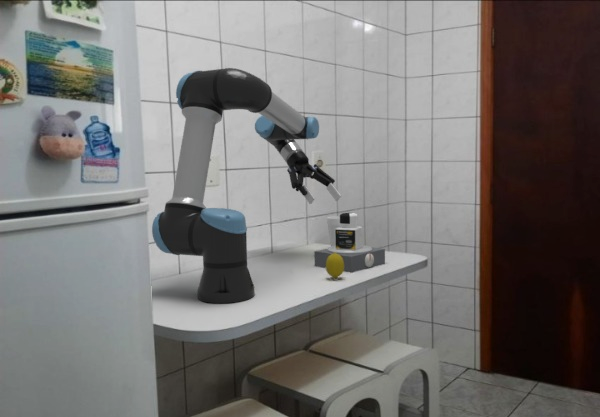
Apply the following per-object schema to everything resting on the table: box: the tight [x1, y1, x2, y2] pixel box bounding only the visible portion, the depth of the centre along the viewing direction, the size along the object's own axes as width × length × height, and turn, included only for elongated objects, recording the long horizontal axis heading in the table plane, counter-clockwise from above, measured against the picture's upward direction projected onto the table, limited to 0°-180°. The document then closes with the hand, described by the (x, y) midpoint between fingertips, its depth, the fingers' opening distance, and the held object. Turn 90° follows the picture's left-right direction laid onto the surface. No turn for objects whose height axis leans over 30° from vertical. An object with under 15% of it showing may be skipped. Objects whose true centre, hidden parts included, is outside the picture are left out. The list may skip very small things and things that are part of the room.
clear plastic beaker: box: [326, 215, 341, 247], centre depth 209 cm, size 10×9×13 cm
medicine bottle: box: [335, 212, 363, 250], centre depth 181 cm, size 7×7×12 cm
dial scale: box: [313, 244, 386, 273], centre depth 181 cm, size 18×17×6 cm
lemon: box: [325, 253, 345, 280], centre depth 161 cm, size 6×6×8 cm
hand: (325, 200), depth 187 cm, fingers open, 13 cm apart
